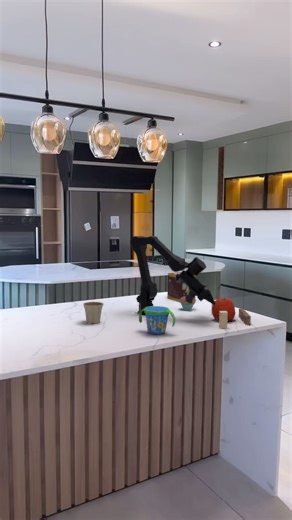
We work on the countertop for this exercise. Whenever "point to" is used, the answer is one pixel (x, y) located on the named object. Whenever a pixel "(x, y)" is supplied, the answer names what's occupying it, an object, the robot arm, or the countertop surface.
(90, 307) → the flower pot
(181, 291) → the supplement box
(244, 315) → the batten
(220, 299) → the apple
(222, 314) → the beige upright piece
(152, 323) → the snack cup
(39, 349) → the countertop surface
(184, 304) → the cupcake
